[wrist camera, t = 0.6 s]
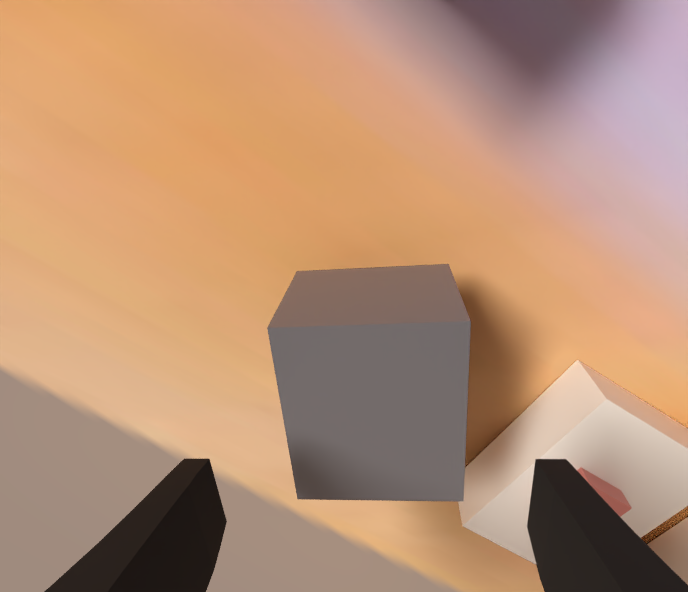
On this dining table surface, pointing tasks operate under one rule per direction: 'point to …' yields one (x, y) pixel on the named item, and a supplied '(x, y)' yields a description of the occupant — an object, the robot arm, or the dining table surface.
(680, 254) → the dining table surface
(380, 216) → the dining table surface
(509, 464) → the socket strip
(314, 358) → the plug
